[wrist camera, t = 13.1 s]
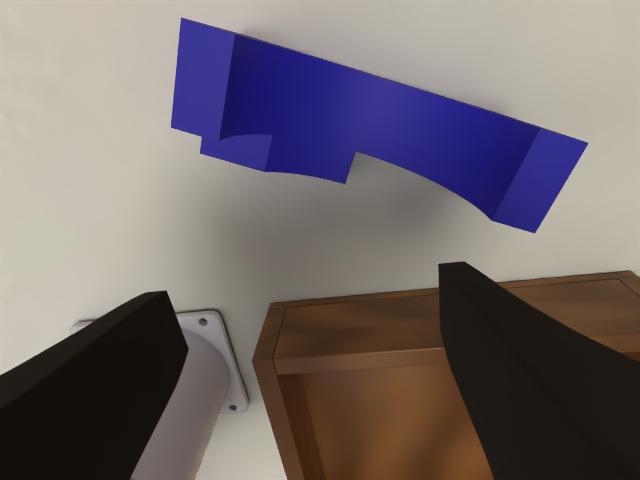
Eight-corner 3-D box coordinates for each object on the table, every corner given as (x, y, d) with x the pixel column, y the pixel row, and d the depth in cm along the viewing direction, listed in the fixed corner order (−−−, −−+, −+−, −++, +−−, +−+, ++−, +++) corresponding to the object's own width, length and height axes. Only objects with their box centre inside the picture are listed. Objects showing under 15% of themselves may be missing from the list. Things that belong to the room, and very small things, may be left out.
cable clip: (222, 139, 17) (166, 173, 12) (239, 33, 15) (181, 17, 10) (462, 209, 18) (512, 271, 13) (507, 116, 16) (588, 142, 11)
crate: (320, 501, 29) (315, 574, 25) (270, 302, 21) (251, 360, 17) (579, 496, 27) (621, 575, 23) (631, 270, 19) (711, 328, 15)
